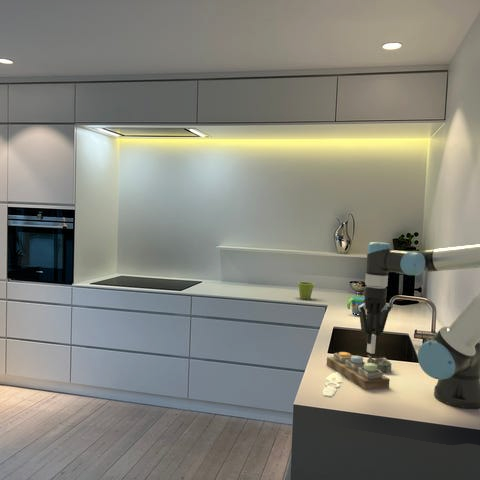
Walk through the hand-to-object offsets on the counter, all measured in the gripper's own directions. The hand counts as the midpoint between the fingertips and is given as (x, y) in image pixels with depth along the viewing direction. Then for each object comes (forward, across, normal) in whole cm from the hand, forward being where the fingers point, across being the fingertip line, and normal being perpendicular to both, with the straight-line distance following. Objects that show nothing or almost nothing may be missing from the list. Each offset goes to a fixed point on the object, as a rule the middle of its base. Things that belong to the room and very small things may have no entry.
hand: (370, 352), depth 164 cm
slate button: (+7, 0, -8) cm, 11 cm away
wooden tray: (+11, 0, -8) cm, 14 cm away
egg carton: (+12, -15, -14) cm, 23 cm away
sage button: (+7, 0, 0) cm, 7 cm away
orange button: (+8, 0, -17) cm, 19 cm away
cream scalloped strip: (+12, +12, -3) cm, 17 cm away
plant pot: (+13, -52, -153) cm, 162 cm away
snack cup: (+12, -63, -103) cm, 122 cm away
